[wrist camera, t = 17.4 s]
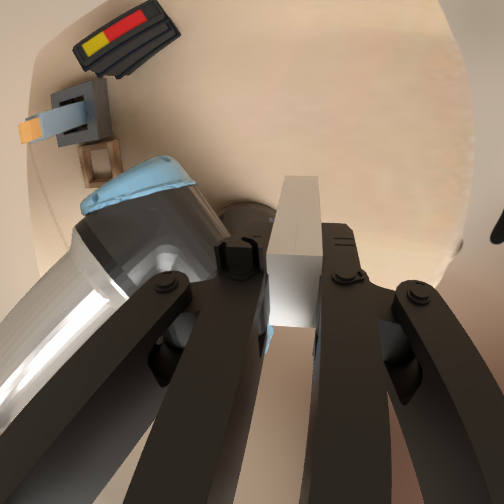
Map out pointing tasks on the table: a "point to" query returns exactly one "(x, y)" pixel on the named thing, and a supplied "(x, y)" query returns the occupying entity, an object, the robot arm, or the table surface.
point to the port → (94, 110)
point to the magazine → (127, 41)
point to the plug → (52, 122)
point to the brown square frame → (87, 164)
